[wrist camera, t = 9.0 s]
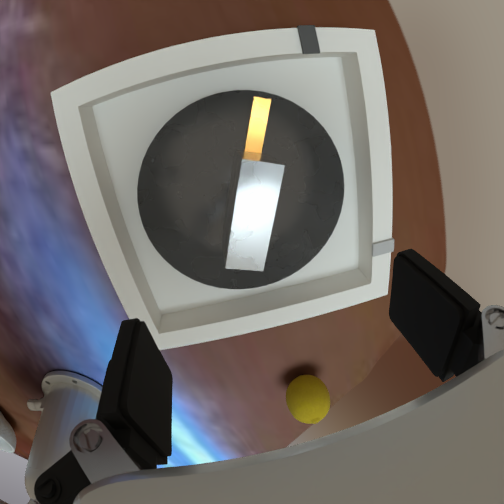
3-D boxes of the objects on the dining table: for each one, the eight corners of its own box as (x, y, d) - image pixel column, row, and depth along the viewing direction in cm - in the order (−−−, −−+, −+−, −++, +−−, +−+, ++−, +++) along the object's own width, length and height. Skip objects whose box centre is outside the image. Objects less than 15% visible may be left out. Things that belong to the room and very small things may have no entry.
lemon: (290, 361, 36) (307, 410, 29) (326, 364, 38) (345, 409, 30) (274, 386, 38) (286, 434, 31) (308, 388, 40) (323, 432, 33)
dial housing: (152, 320, 30) (147, 354, 26) (76, 93, 19) (48, 91, 14) (367, 270, 31) (389, 295, 27) (348, 39, 20) (377, 28, 15)
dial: (311, 285, 28) (333, 324, 23) (139, 272, 25) (125, 314, 20) (354, 116, 21) (395, 121, 16) (152, 81, 18) (133, 71, 13)
